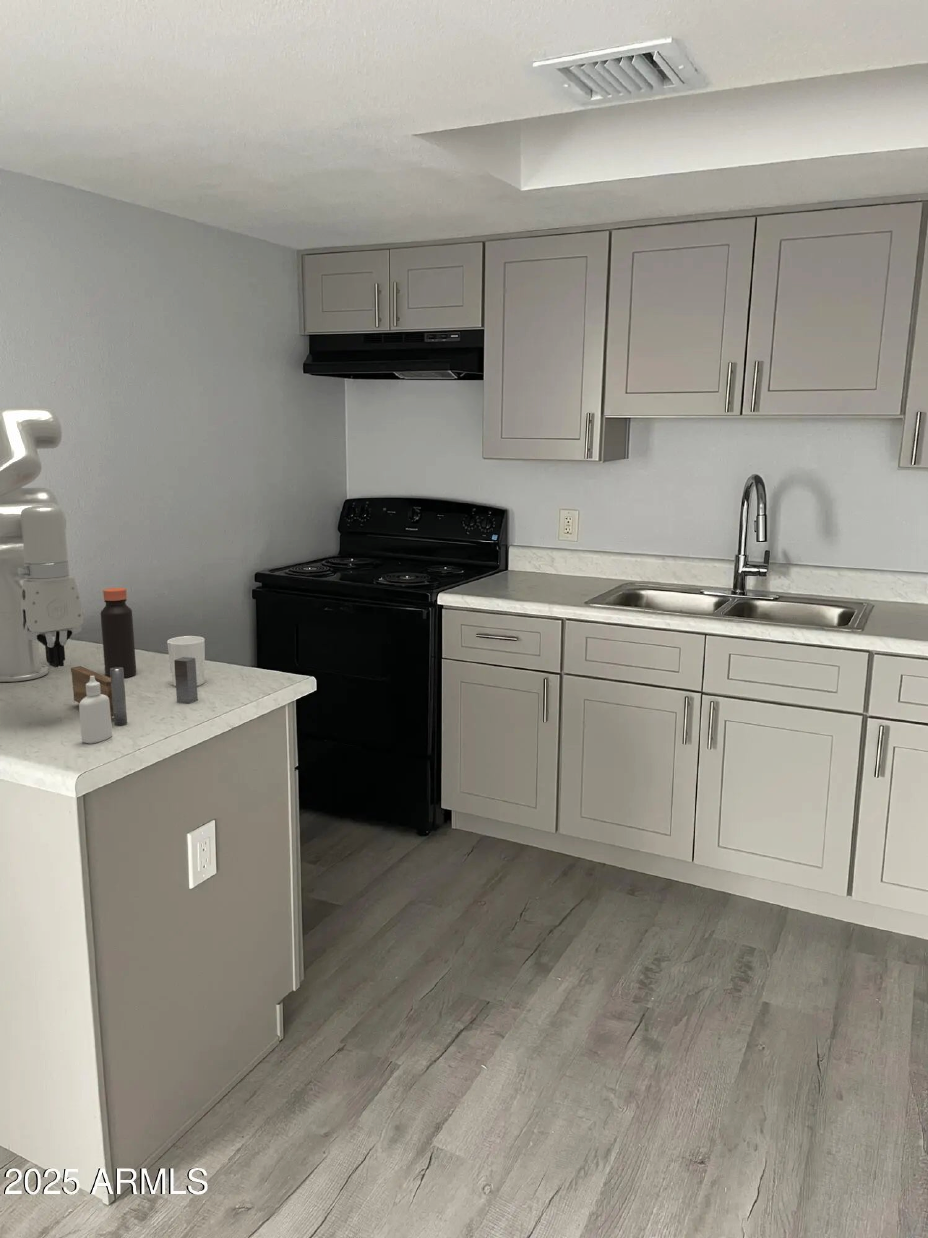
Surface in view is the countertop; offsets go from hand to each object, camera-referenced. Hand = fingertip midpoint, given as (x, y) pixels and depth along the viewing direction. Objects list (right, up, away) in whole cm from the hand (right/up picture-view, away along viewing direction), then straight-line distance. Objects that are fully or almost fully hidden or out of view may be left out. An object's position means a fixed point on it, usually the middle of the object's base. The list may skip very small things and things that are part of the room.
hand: (56, 665), depth 186 cm
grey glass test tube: (+12, -11, 0) cm, 17 cm away
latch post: (+21, -8, +15) cm, 27 cm away
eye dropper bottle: (+11, -13, -9) cm, 20 cm away
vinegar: (0, -4, +36) cm, 36 cm away
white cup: (+17, -6, +29) cm, 34 cm away
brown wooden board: (+5, -9, +7) cm, 12 cm away
